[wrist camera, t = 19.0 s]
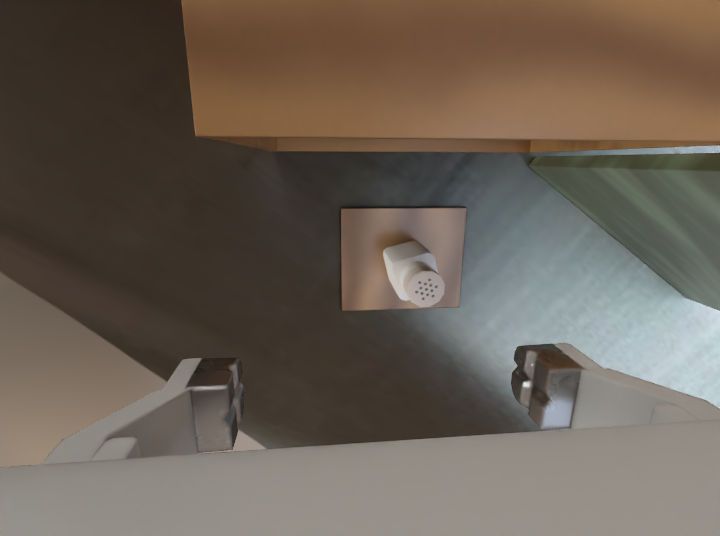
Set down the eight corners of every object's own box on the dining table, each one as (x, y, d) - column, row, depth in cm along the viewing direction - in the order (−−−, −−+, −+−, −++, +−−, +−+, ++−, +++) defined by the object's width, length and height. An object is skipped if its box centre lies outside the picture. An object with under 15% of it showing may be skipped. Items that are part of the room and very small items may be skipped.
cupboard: (532, 152, 40) (801, 141, 17) (271, 151, 37) (195, 136, 15) (556, -57, 35) (974, -445, 12) (259, -74, 32) (119, -589, 10)
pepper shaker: (417, 237, 40) (445, 260, 31) (425, 273, 41) (454, 304, 32) (380, 247, 40) (397, 273, 31) (389, 283, 41) (408, 317, 32)
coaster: (341, 309, 42) (342, 311, 42) (340, 208, 39) (341, 208, 39) (457, 305, 43) (459, 307, 43) (465, 207, 40) (466, 207, 40)
